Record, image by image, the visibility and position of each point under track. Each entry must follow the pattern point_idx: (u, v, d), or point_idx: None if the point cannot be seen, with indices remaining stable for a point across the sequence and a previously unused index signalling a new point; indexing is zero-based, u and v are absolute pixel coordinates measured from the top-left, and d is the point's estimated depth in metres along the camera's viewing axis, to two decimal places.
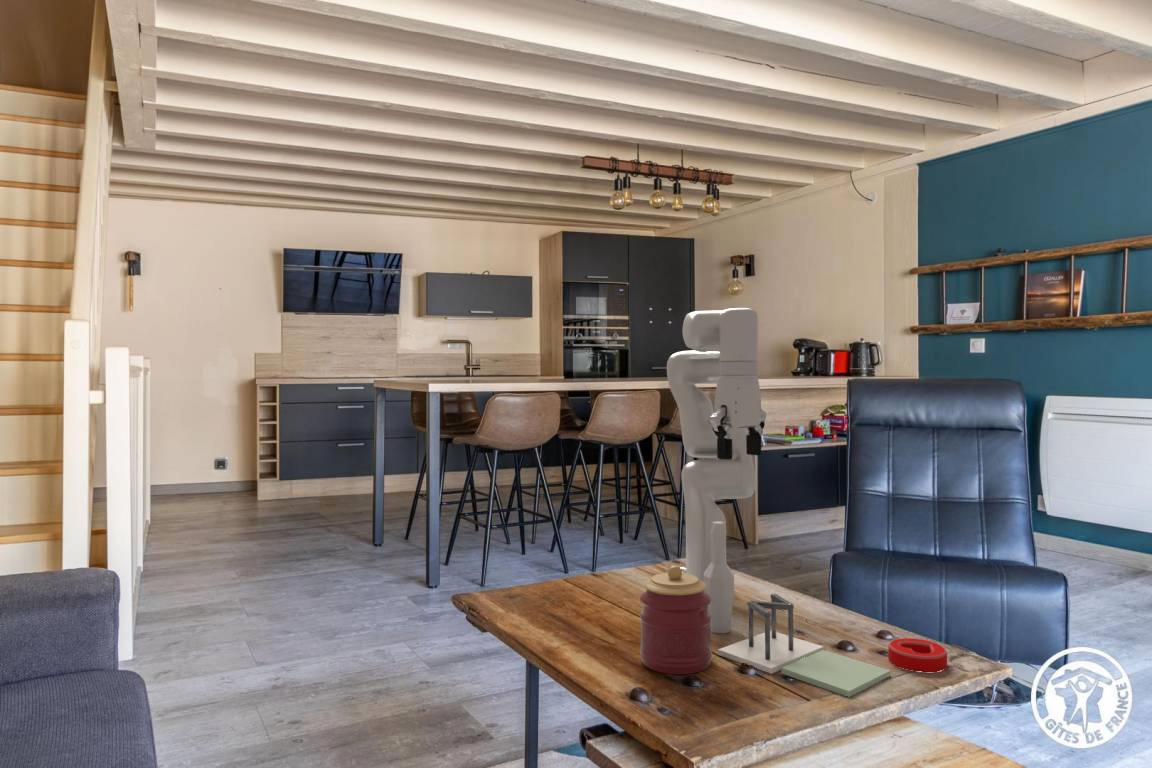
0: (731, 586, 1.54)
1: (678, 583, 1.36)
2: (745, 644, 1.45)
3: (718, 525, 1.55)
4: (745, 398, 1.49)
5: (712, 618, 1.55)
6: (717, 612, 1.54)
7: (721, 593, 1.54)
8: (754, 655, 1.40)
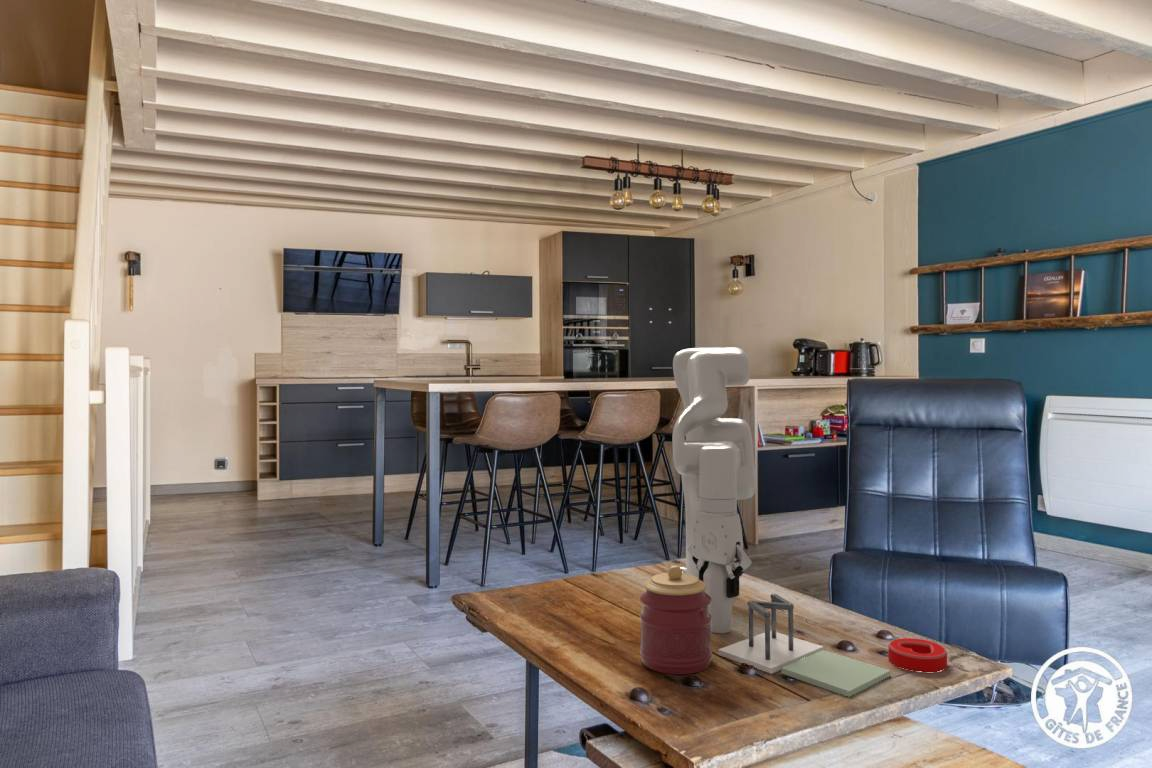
0: None
1: (678, 583, 1.36)
2: (745, 644, 1.45)
3: None
4: None
5: (712, 618, 1.55)
6: (717, 612, 1.54)
7: (721, 593, 1.54)
8: (754, 655, 1.40)
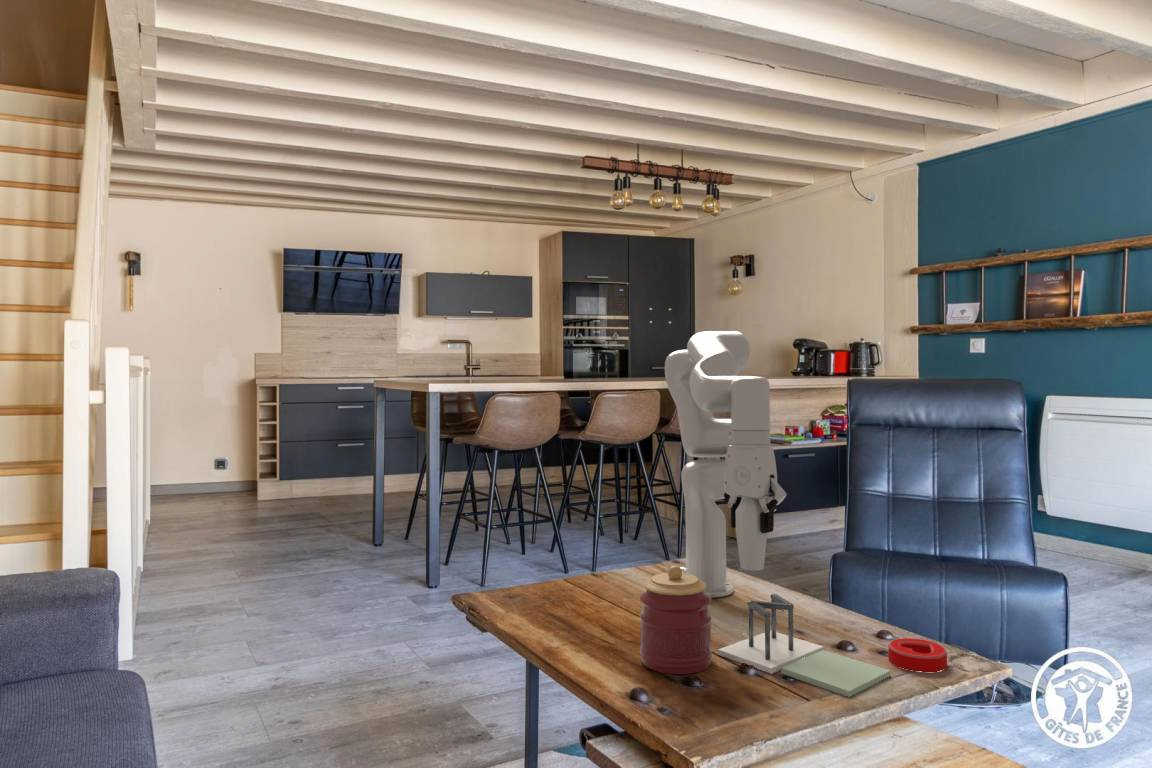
0: None
1: (678, 583, 1.36)
2: (745, 644, 1.45)
3: None
4: None
5: (745, 555, 1.49)
6: (750, 548, 1.49)
7: (754, 528, 1.48)
8: (754, 655, 1.40)
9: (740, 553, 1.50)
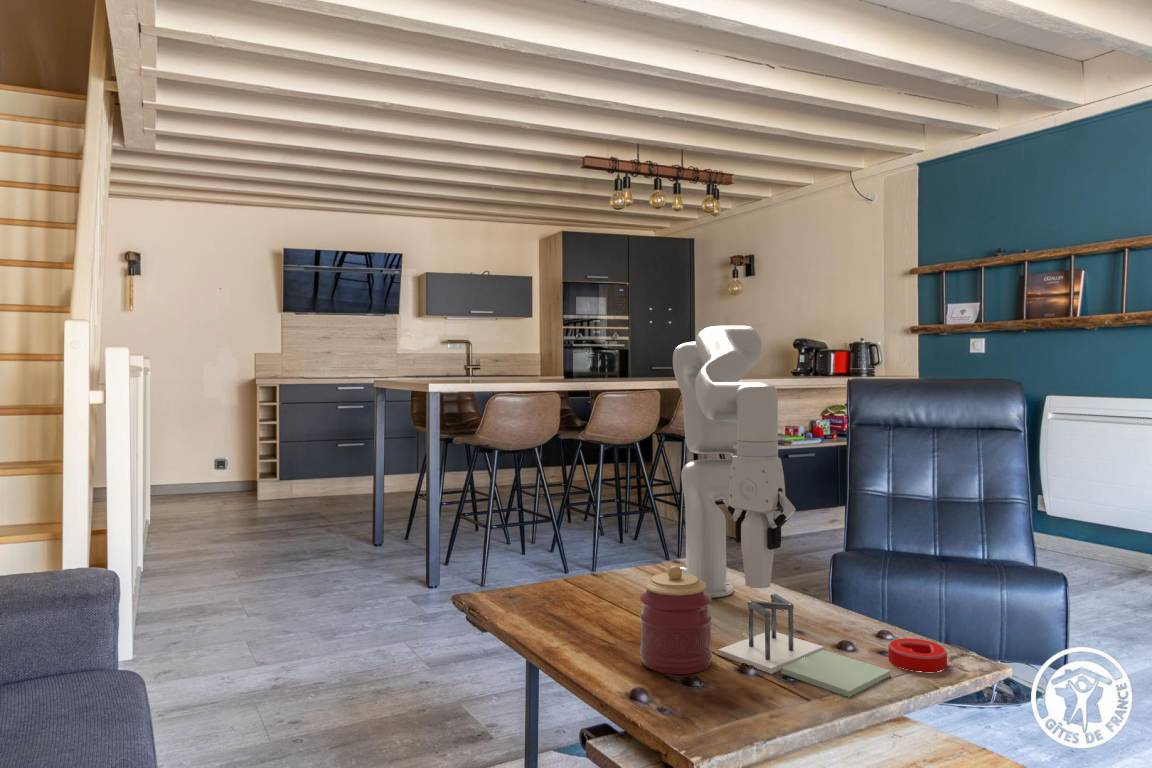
0: None
1: (678, 583, 1.36)
2: (745, 644, 1.45)
3: None
4: None
5: (751, 572, 1.42)
6: (756, 565, 1.41)
7: (761, 545, 1.41)
8: (754, 655, 1.40)
9: (746, 570, 1.43)
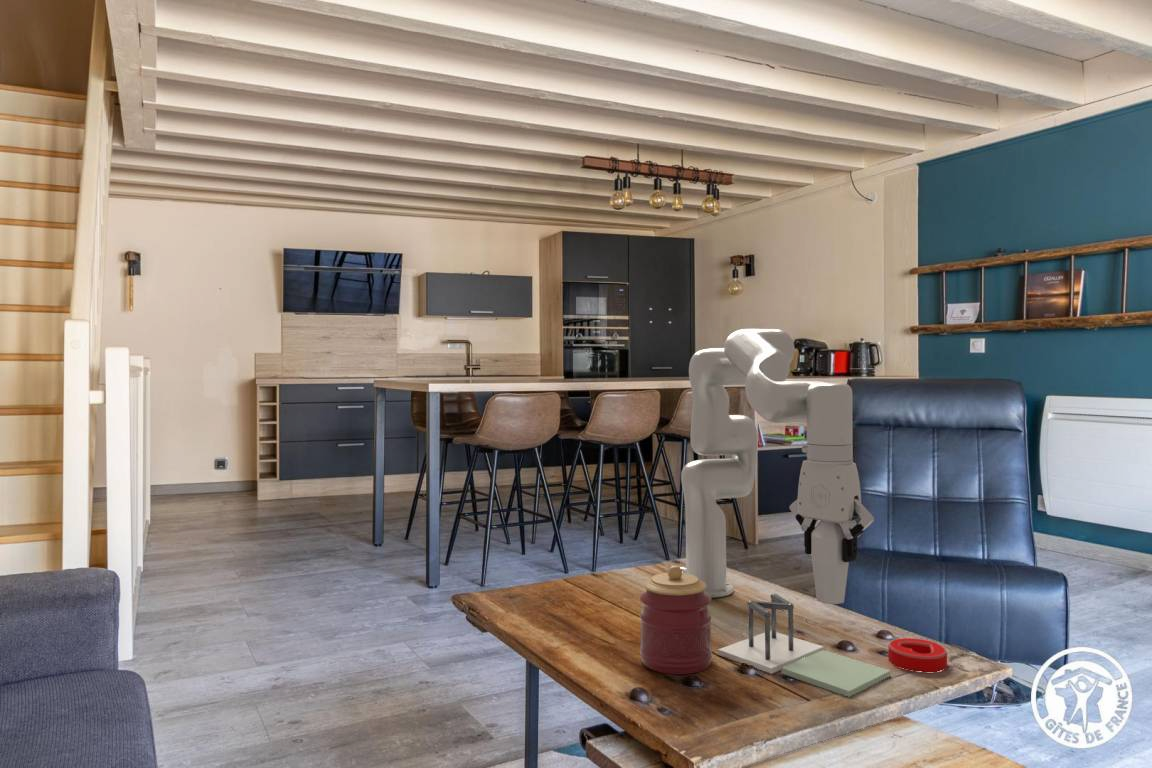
0: None
1: (678, 583, 1.36)
2: (745, 644, 1.45)
3: None
4: None
5: (823, 586, 1.31)
6: (829, 579, 1.30)
7: (835, 557, 1.30)
8: (754, 655, 1.40)
9: (817, 584, 1.32)
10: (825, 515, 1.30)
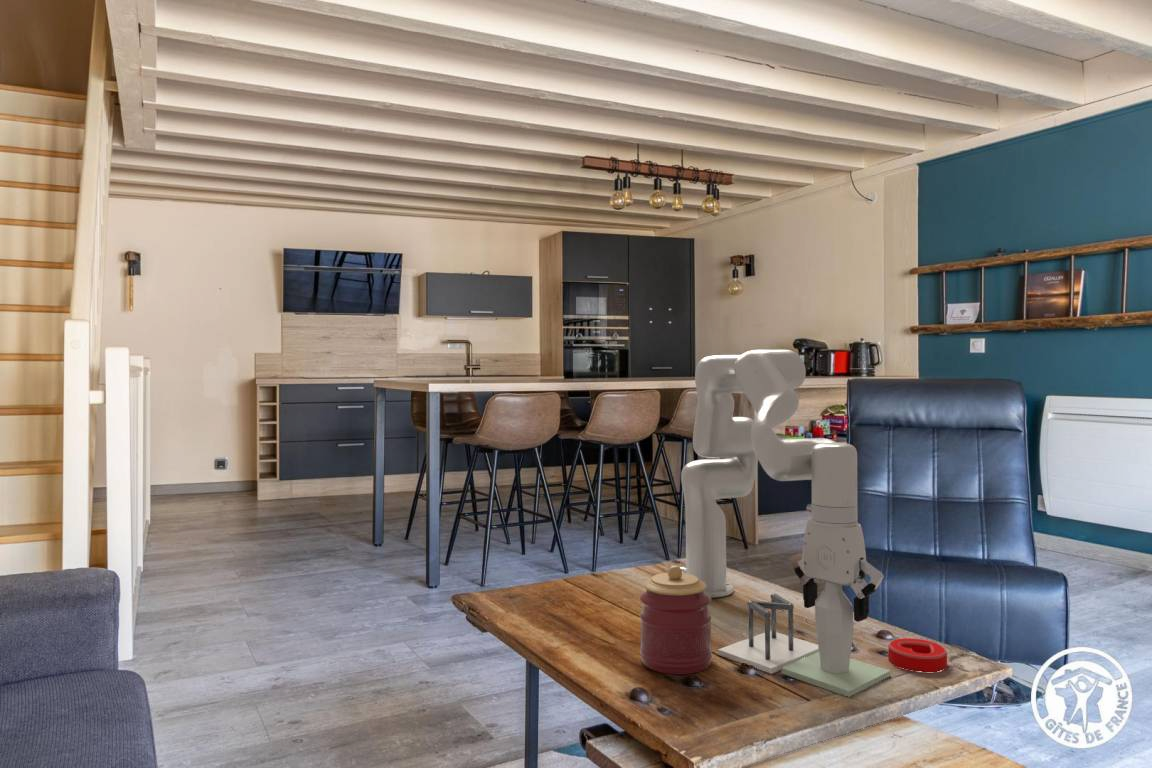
0: (851, 618, 1.31)
1: (678, 583, 1.36)
2: (745, 644, 1.45)
3: None
4: None
5: (828, 656, 1.31)
6: (834, 648, 1.30)
7: (840, 627, 1.30)
8: (754, 655, 1.40)
9: (822, 653, 1.32)
10: (830, 577, 1.30)
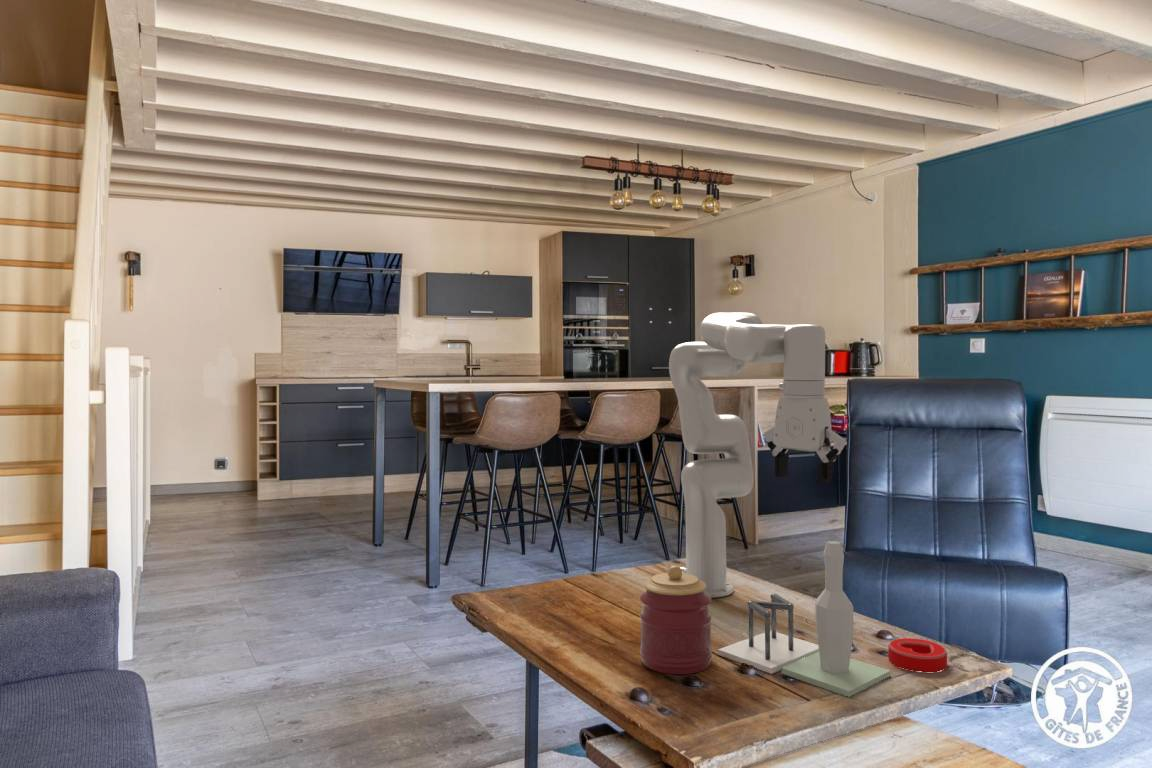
0: (851, 618, 1.31)
1: (678, 583, 1.36)
2: (745, 644, 1.45)
3: (834, 545, 1.32)
4: None
5: (828, 656, 1.31)
6: (834, 648, 1.30)
7: (840, 627, 1.30)
8: (754, 655, 1.40)
9: (822, 653, 1.32)
10: (798, 444, 1.43)
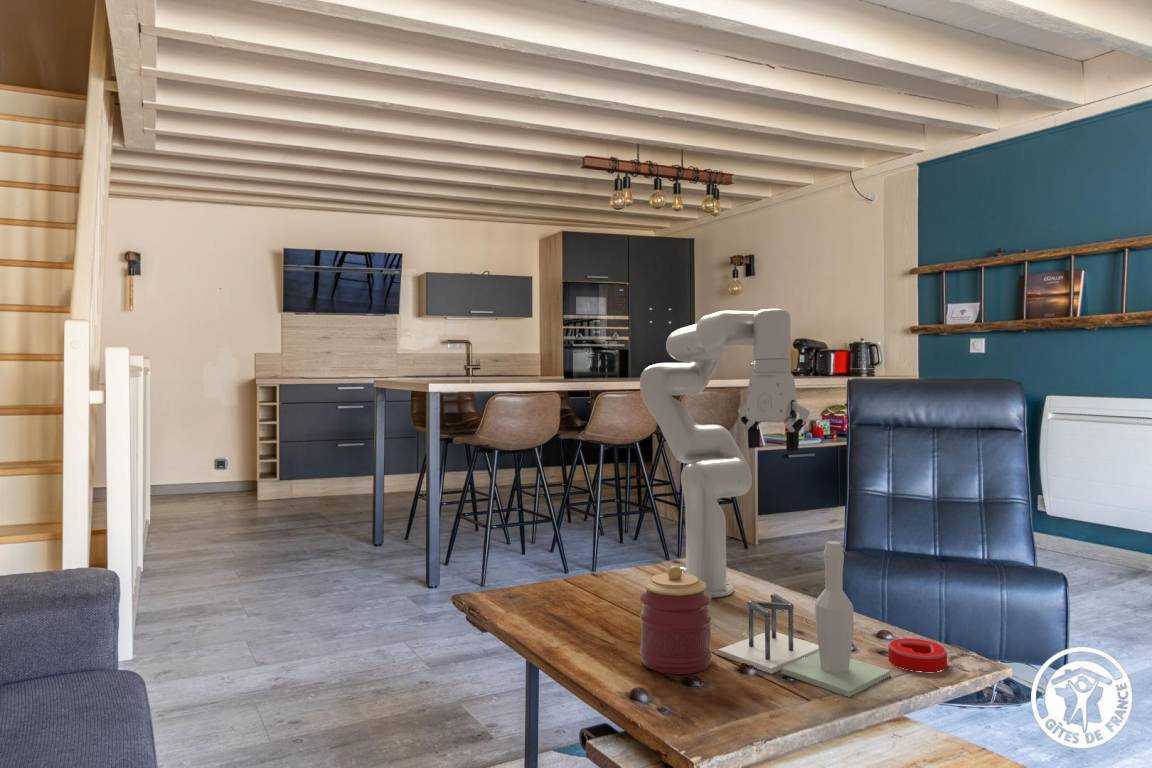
0: (851, 618, 1.31)
1: (678, 583, 1.36)
2: (745, 644, 1.45)
3: (834, 545, 1.32)
4: None
5: (828, 656, 1.31)
6: (834, 648, 1.30)
7: (840, 627, 1.30)
8: (754, 655, 1.40)
9: (822, 653, 1.32)
10: (768, 417, 1.59)
